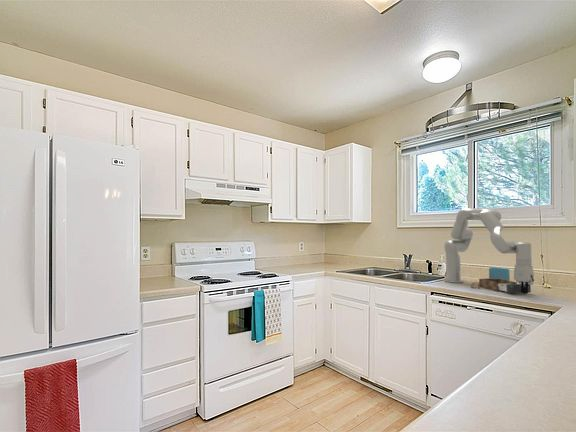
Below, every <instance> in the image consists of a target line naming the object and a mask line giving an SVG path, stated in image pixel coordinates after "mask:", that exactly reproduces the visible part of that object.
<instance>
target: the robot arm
mask: <svg viewBox="0 0 576 432" xmlns="http://www.w3.org/2000/svg"><path fill="white" fill-rule="evenodd" d="M501 220H502V214H501V213H500V211H498V210H496V209H495V210H494V209H486V208H469V207H468V208H462V209H460V210H459V211H458V212H457V213H456V217H455V221H454V223H453V226H452V229H451V232H450V237H451V238H452V239H449V240H447V241H446V242H445V243H444V247H443V248H444V251H445V265H446V267H445V271H446V274H445V275H444V277H445V278H444V280H443V281H444V282H447V283H454V284H455V283H457V284H458V283H463V282H464V280H463V279H461V256H460V254H459V253H465V252H466V251H467V250H468V249H469V247H470V244H471V242H472V240H473V233H474V231H473V230H472V228H471V227H468V225H469V221H481V223H483V225H484V226H485V228H486V229H487V230H488V232H489V236H490V238H489V239H490V241H491V243H492V245H493V246H494V248H495V249H496V250H497V251H498V252H499V253H501V254H504V255H505V254H515V264H514V270H513V279H514V280H515V282H517V284H520V286H521V294H529V292H528V287H529V285H531V286H532V285H534V282H535V272H534V268H533V265H532V262H533V261H532V244H531V242H523V241H520V242H519V241H512V240H511V241H506V240H504V237H502V235H501V232H502V231H503V229H504V228H505V227H504V225H503V224H502V223H501Z"/></svg>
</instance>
